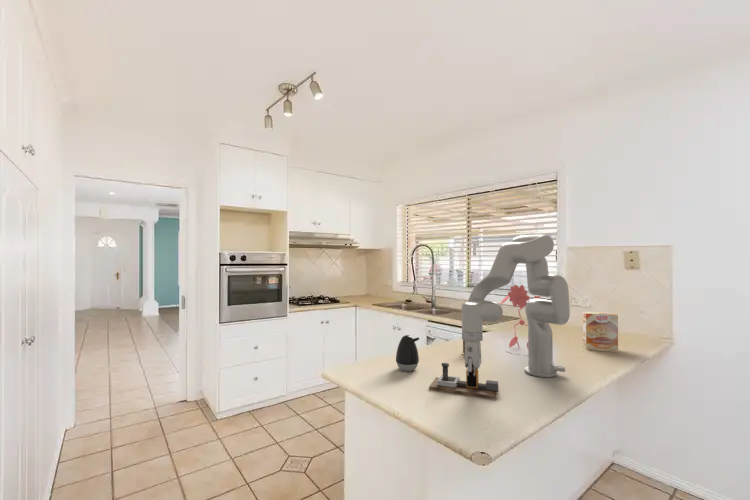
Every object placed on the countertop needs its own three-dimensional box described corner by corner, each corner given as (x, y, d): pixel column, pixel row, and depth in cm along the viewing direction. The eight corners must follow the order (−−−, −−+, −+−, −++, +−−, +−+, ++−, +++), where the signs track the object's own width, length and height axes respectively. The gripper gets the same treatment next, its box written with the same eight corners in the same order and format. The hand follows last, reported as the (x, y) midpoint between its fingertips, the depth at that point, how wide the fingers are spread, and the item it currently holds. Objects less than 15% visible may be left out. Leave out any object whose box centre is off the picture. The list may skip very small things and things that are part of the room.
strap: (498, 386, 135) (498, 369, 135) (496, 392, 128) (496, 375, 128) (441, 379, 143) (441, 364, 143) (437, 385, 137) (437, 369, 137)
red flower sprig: (507, 343, 205) (506, 282, 205) (549, 354, 183) (548, 285, 183) (488, 348, 197) (487, 284, 197) (531, 359, 175) (529, 287, 175)
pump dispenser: (418, 373, 154) (418, 338, 154) (394, 372, 156) (394, 337, 156) (420, 366, 164) (420, 333, 164) (397, 365, 166) (397, 332, 166)
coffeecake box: (586, 350, 191) (585, 313, 191) (582, 346, 198) (582, 311, 198) (618, 352, 187) (618, 314, 187) (614, 348, 193) (613, 312, 194)
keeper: (498, 388, 136) (498, 365, 137) (495, 399, 126) (495, 374, 126) (436, 380, 146) (436, 358, 146) (429, 389, 136) (428, 366, 136)
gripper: (479, 341, 126) (480, 394, 126) (485, 332, 141) (485, 379, 141) (457, 339, 129) (458, 390, 129) (465, 330, 144) (466, 376, 144)
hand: (472, 384), depth 135 cm, fingers closed on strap, 3 cm apart
